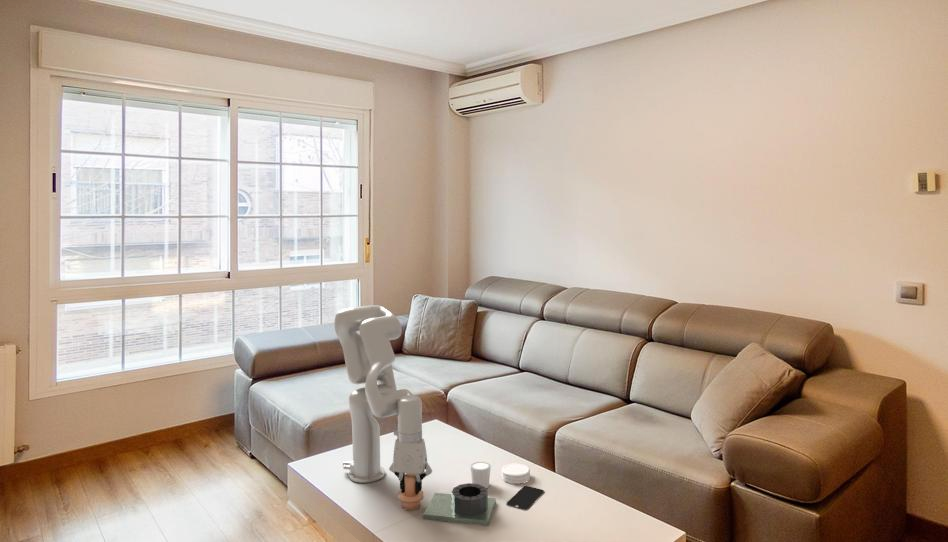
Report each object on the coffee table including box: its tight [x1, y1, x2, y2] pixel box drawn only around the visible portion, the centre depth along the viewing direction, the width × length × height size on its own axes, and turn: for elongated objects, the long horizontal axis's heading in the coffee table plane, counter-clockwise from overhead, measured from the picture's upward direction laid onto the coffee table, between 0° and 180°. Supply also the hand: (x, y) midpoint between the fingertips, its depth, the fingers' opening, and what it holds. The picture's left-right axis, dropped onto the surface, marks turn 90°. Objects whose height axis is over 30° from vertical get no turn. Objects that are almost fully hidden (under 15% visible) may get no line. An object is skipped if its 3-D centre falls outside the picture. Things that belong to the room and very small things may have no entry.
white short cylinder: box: [501, 462, 531, 485], centre depth 203 cm, size 10×10×4 cm
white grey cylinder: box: [470, 461, 492, 489], centre depth 197 cm, size 7×7×7 cm
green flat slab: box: [422, 482, 497, 527], centre depth 180 cm, size 20×14×6 cm
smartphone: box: [505, 485, 545, 511], centre depth 188 cm, size 8×1×15 cm
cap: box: [397, 473, 425, 511], centre depth 183 cm, size 8×8×10 cm
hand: (410, 491), depth 183 cm, fingers closed on cap, 4 cm apart
